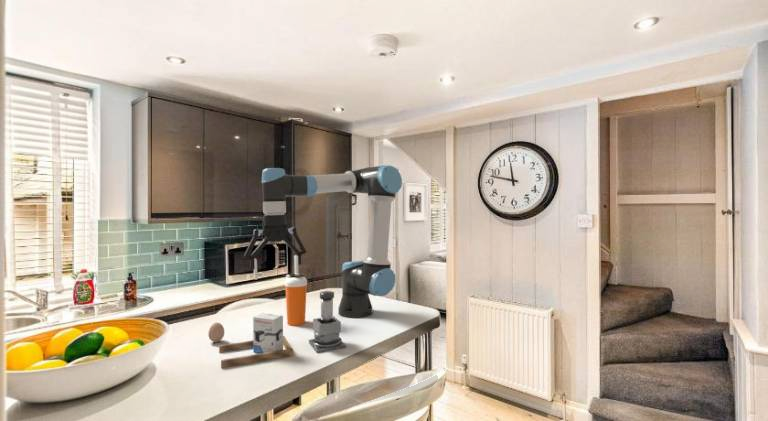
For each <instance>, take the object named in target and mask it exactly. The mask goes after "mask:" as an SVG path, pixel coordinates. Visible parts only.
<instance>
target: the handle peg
mask: <svg viewBox="0 0 768 421" xmlns="http://www.w3.org/2000/svg"><path fill="white" fill-rule="evenodd" d="M334 298H335V292H334V291H330V290H328V291H327V290H325V291H324V290H323V291H321V292H319V299H320V318H321V324H324V323H331V322H333V316H334V303H333V302H334Z"/></svg>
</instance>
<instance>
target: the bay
mask: <svg viewBox="0 0 768 421" xmlns="http://www.w3.org/2000/svg"><path fill="white" fill-rule="evenodd" d="M218 347H219V349H218V350H219V351H218V352H219V353H225V352H231V351H239V350H246V349H251V348H253V340H247V341H240V342H232V343H227V344H220V345H218ZM283 348H284V349H283V350H279V351H273V352H267V353H255V354H249V355H244V356H239V357H231V358H225V359H220V368H221V369H223V368H228V367H235V366H240V365H246V364H254V363H257V362H264V361H265V362H266V361H269V360H277V359H280V358H281V359H282V358H287V357H293V356H294V354H293V353H294V349H293V347H292V346H291V344H290V343H289V341H288V339H287V337H286V336H285V335H283Z"/></svg>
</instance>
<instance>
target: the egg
mask: <svg viewBox="0 0 768 421" xmlns="http://www.w3.org/2000/svg"><path fill="white" fill-rule="evenodd" d="M207 334H208V338H209V340H210V341H211V342H213V343H218V342H220V341H222V339H223V338H224V336H225V328H224V326H223V325H222V324H221V323H220V322H219V321H217V322H214V323H212V324H211V326H210V327H209V330H208V333H207Z"/></svg>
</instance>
